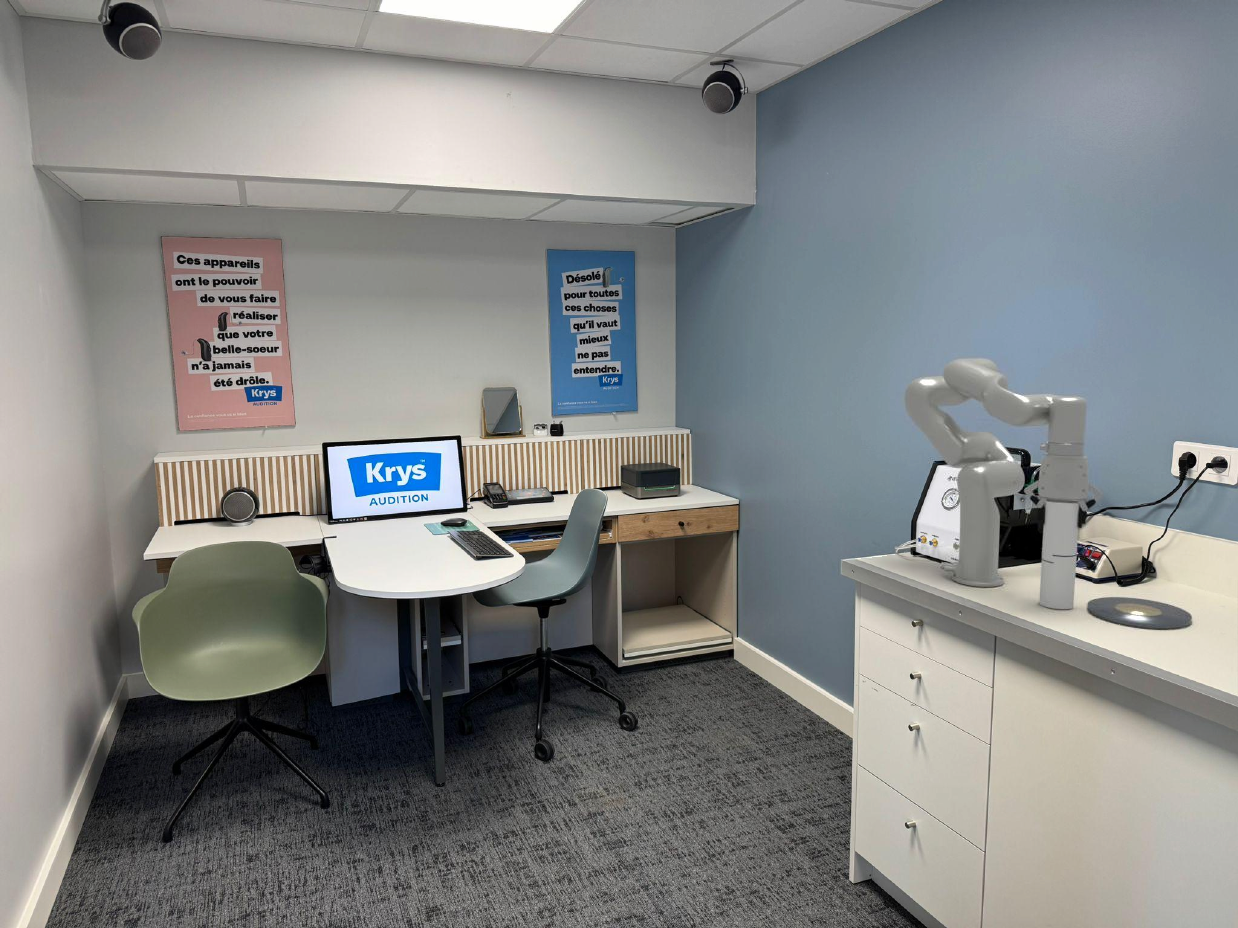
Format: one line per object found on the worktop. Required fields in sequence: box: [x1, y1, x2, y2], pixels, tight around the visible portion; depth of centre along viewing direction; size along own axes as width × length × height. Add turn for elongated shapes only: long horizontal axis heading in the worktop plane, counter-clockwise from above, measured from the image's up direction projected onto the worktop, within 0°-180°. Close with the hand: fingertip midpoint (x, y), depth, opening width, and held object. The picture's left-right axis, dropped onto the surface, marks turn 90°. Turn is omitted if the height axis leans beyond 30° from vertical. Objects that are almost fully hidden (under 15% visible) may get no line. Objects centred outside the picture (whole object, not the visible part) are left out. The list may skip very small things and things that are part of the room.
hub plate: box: [1086, 596, 1193, 631], centre depth 185 cm, size 20×20×1 cm
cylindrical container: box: [1038, 499, 1080, 610], centre depth 191 cm, size 7×7×25 cm
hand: (1060, 524), depth 190 cm, fingers closed on cylindrical container, 7 cm apart
